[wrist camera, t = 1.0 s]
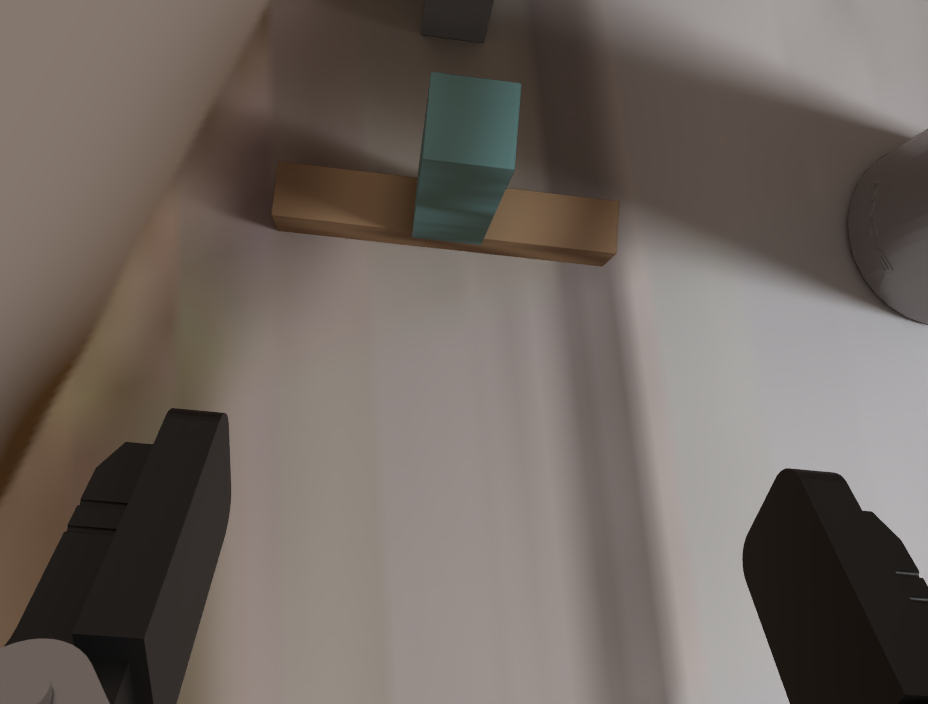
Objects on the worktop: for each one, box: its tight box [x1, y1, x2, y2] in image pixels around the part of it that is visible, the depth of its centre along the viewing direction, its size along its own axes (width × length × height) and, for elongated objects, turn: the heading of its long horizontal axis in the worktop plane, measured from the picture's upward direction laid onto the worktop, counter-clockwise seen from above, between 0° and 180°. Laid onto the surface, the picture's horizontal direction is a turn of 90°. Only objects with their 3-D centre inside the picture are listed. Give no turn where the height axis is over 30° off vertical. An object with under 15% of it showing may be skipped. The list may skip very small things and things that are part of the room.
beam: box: [271, 72, 619, 266], centre depth 32 cm, size 15×3×11 cm, turn 85°
